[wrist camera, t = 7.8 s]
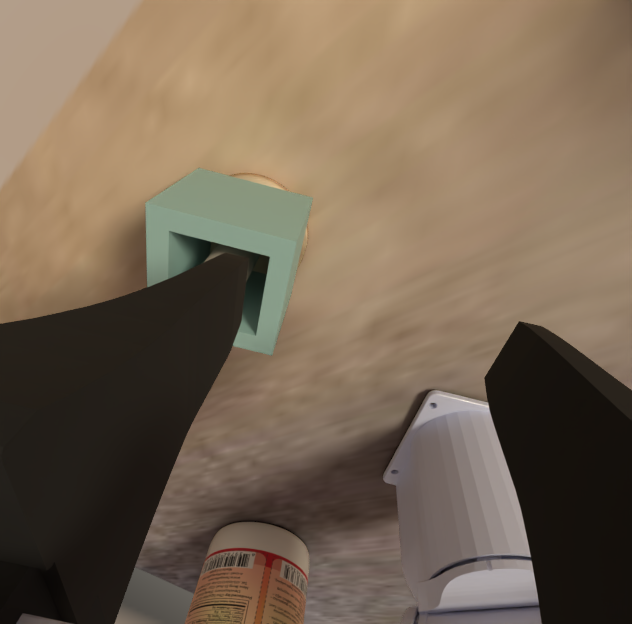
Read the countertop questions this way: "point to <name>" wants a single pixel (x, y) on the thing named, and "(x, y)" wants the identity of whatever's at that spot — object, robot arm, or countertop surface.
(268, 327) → the green hollow cube
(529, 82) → the countertop surface
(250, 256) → the spindle
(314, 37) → the countertop surface
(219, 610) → the fruit juice
